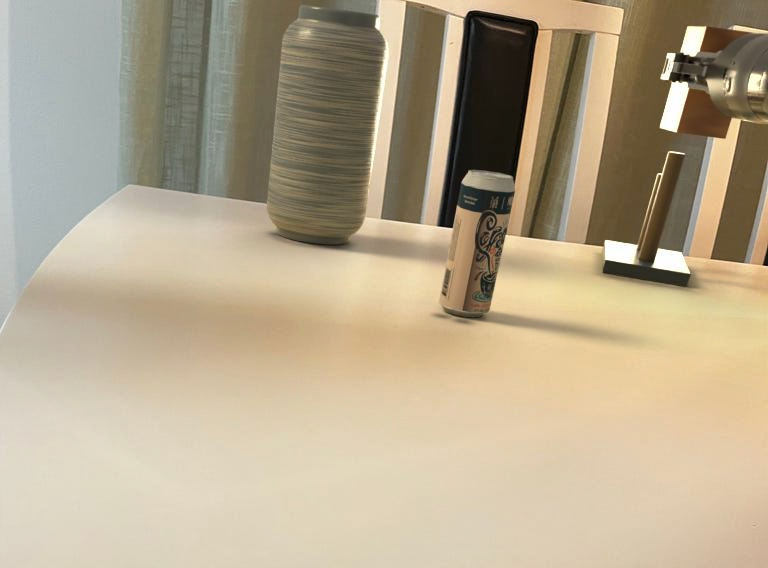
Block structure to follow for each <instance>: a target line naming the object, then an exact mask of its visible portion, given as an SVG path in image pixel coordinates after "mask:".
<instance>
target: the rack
mask: <svg viewBox="0 0 768 568" xmlns="http://www.w3.org/2000/svg"><path fill="white" fill-rule="evenodd" d="M686 156H687V155H686V153H683V152H678V151H668V152H667V155H666V159H665V162H664V166H663V169H662V173H661V172H660V173H657V174H656V178H655V182H654V184H653V189H652V192H651V196H650V199H649V202H648V206H647V210H646V214H645V217H644V221H643V224H642V228H641V232H640V234H639V237H638V242H637V244H632V243H625V242H620V241H614V240H608V239H605V240H604V242H603V247H602V251H601V272H602V273H603V274H609V275H614V276H620V277H626V278H632V279H637V280H638V279H639V280H643V281H650V282H655V283H662V284H668V285H672V286H673V285H674V286H680V287H688V284H689V282H690V278H691V275H692V274H691V272H690V269H689V267H688V265H687V262H686V260H685V257H684V254H683V253H682V252H681V251H676V250H668V249H662V248H660V244H661V241H662V238H663V234H664V231H665V227H666V224H667V220H668V217H669V214H670V210H671V207H672V203H673V200H674V197H675V193H676V190H677V186H678V182H679V180H680V176H681V172H682V169H683V165H684V162H685V158H686Z"/></svg>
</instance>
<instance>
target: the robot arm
mask: <svg viewBox="0 0 768 568" xmlns="http://www.w3.org/2000/svg"><path fill="white" fill-rule="evenodd" d="M691 61H692V62H693V64H692V62H691ZM689 74H690V76H689V77H688V75H689ZM687 77H688V78H687ZM660 80H663V82H669V81H670V83H672V82H673V83H676V81H678V83H682V82H687V86H688V88H690V89H697V90H704V91H706V93H707V94H710V96H711V99H712V102H713V104H714V105H715V107H716V108H717V109H718V110H719V111H720V112H721V113H722V114H723V115H725V116H727V117H730V118H732V119H735V120H740V121H744V122H750V123H754V124H759V125H768V32H753V33H751V34H747V35H744V36H741V37H739V38H737V39H736V40H734V41H733V42H731V43H730V44H729V45H728V46H727V47H726V48H725V49H724V50H723V51H718V52H717V53H710V52H701V51H699V52H697V54H696V55H695V56H690V54H684V53H683V52H681V51H679V52H675V51H670V52H668V53H667V54H666V59H665V63H664V66H663V70H662V73H661V75H660ZM704 84H708V85H704Z"/></svg>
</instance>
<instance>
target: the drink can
mask: <svg viewBox="0 0 768 568" xmlns="http://www.w3.org/2000/svg"><path fill="white" fill-rule="evenodd" d="M515 193H516V186H515V181H514V177H513V176H512V175H510V174H509V175H508V174H505V173H501V172H495V171H489V170H479V169H469V170H468V172H467V173H466V174H465V176H464V177H463V179H462V181H461V183H460V189H459V194H458V199H457V204H456V210H455V215H454V221H453V225H452V231H451V236H450V240H449V241H450V242H449V246H448V252H447V257H446V258H447V259H446V262H445V268H444V273H443V279H442V284H441V290H440V293H439V300H438V304H439V306H441V308H443V310H444V311H445V312H446V313H449V314H451V315H455V316H459V317H463V318H464V317H465V318H479V317H482V316H483V315H485V314H488V313H489V312H490V310H491V306H492V301H493V297H494V291H495V287H496V282H497V277H498V272H499V268H500V264H501V259H502V254H503V250H504V245H505V240H506V236H507V232H508V226H509V221H510V217H511V212H512V208H513V204H514V198H515Z"/></svg>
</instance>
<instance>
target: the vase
mask: <svg viewBox="0 0 768 568" xmlns="http://www.w3.org/2000/svg"><path fill="white" fill-rule="evenodd" d="M298 7H299V8H298V17H297V19H295V20H294V21H292V22H291V23H290V24H289V26H288V27H287V28H286V30H284V31H285V32H284V34H283V36H282V41H281V51H280V62H279V71H278V83H277V93H276V104H275V115H274V124H273V133H272V134H273V136H272V145H271V156H270V167H269V176H268V187H267V198H266V212H267V215H268V217H269V219H270V221H271V222H272V224H274V226H275V227H276V233H277V234H278V235H279V236H280V237H283V238H285V239H290V240H292V241H297V242H302V243H307V244H316V245H326V246H327V245H329V246H330V245H331V246H332V245H333V246H334V245H338V246H339V245H345V244H348V243H349V242H350V240H351V239H350V238H351V236H353V235H355V234H356V233H357V232H358V231H359V230H360V229H361V228H362V226H363V224H364V222H365V219H366V213H367V206H368V205H367V204H368V199H369V193H370V186H371V179H372V172H373V166H374V165H373V164H374V158H375V151H376V144H377V136H378V130H379V123H380V116H381V109H382V102H383V96H384V95H383V94H384V89H385V80H386V73H387V67H388V60H389V53H390V52H389V45H388V41H387V40H386V37H385V35H384V34H383V33H382V32H381V31H380V23H381V22H380V20H381V17H380V15H378V14H374V13H368V12H361V11H354V10H347V9H341V8H340V9H339V8H333V7H326V6H325V7H324V6H317V5H307V4H301V5H300V6H298Z"/></svg>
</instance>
